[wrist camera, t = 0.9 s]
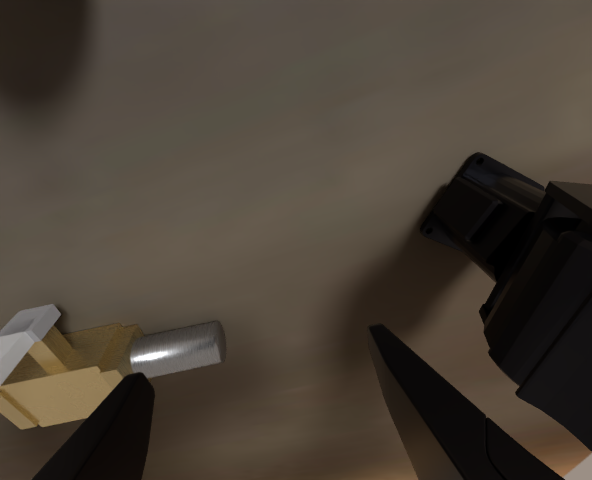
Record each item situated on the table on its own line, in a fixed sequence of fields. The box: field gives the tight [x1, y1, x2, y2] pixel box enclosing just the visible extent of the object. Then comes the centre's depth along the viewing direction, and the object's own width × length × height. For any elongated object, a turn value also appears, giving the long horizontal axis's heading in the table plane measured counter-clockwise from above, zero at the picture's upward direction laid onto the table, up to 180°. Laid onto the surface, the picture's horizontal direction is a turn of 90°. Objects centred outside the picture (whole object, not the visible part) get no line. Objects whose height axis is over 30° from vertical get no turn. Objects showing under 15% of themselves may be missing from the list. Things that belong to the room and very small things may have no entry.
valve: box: [0, 321, 226, 430], centre depth 23 cm, size 22×8×4 cm, turn 100°
